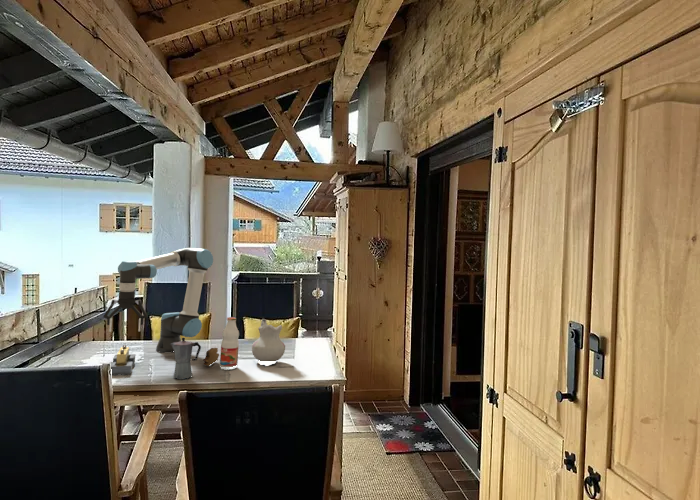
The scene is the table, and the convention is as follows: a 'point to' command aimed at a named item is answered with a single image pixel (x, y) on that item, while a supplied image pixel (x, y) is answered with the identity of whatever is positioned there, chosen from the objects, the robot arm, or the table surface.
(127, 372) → the end link
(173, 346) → the moka pot
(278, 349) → the ceramic pitcher
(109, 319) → the robot arm
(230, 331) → the fruit juice
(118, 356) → the yellow block with knob
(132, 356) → the end link
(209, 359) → the wooden carving
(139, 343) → the table surface
